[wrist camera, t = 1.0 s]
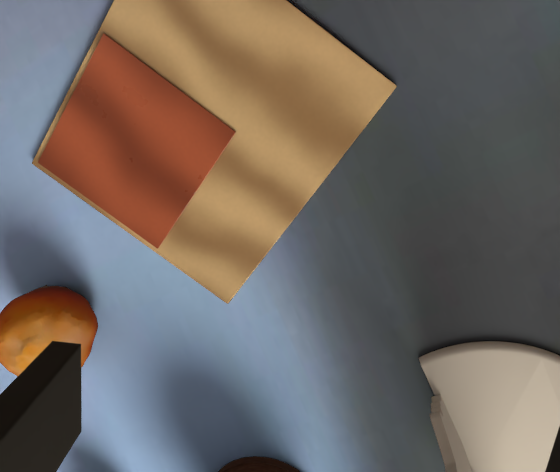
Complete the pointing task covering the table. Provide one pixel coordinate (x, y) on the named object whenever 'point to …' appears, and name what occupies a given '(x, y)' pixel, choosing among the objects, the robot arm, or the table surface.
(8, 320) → the fruit
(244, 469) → the black ball on stand
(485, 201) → the table surface
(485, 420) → the ornament
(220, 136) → the corner board
